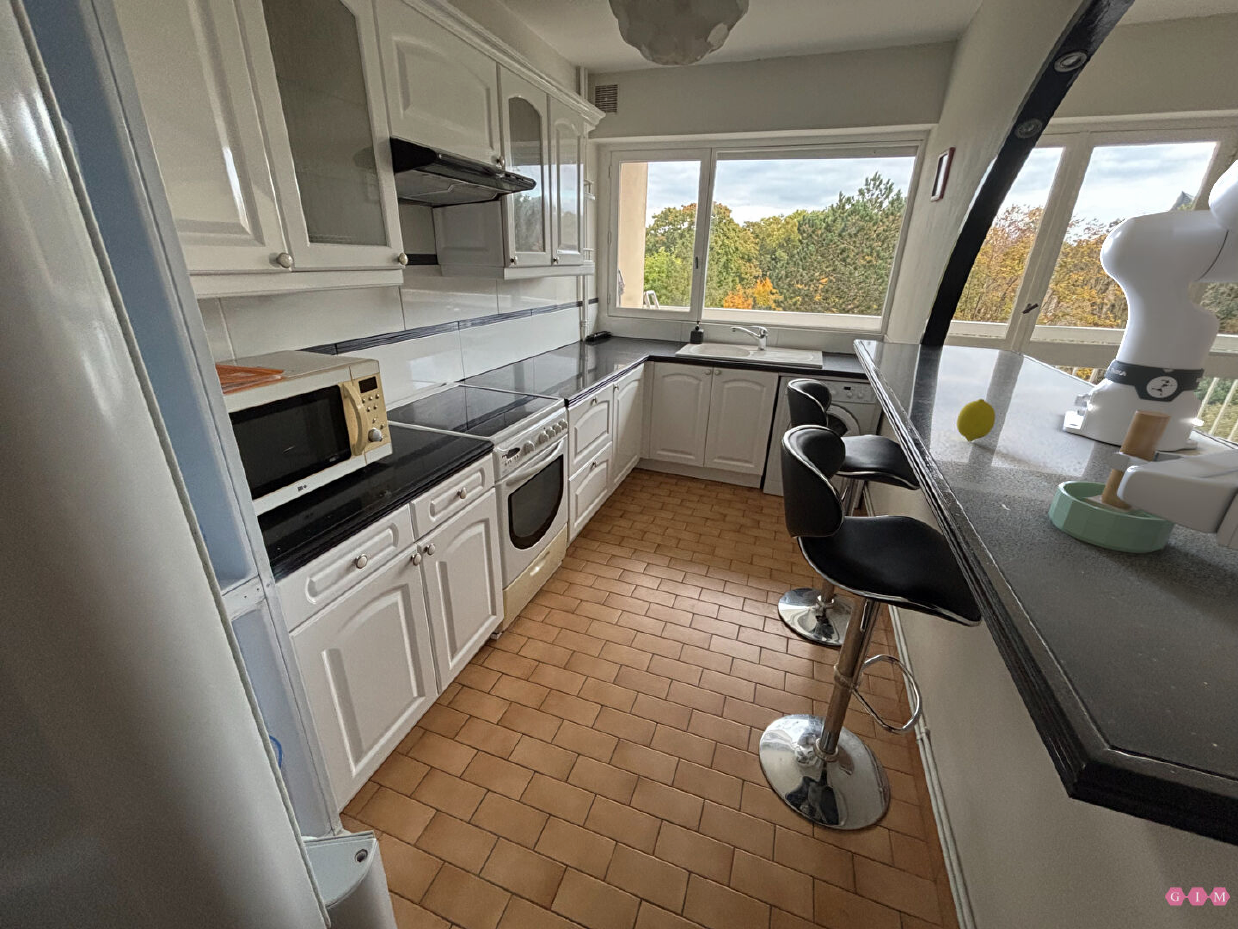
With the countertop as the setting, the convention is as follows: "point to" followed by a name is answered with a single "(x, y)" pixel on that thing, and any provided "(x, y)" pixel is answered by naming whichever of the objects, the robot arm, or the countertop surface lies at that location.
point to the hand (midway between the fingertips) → (1124, 456)
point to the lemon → (976, 420)
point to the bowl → (1105, 521)
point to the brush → (1137, 442)
